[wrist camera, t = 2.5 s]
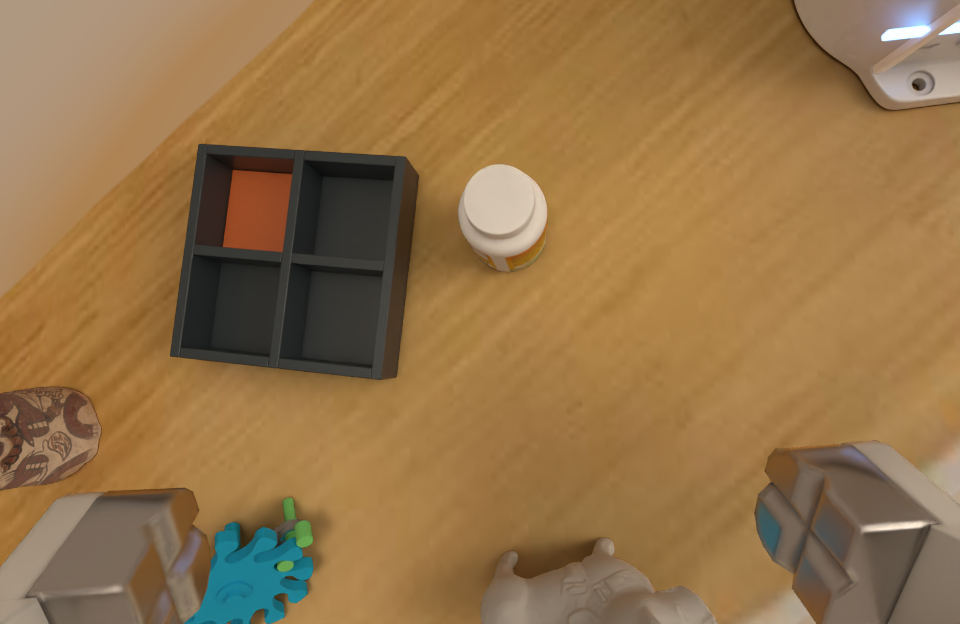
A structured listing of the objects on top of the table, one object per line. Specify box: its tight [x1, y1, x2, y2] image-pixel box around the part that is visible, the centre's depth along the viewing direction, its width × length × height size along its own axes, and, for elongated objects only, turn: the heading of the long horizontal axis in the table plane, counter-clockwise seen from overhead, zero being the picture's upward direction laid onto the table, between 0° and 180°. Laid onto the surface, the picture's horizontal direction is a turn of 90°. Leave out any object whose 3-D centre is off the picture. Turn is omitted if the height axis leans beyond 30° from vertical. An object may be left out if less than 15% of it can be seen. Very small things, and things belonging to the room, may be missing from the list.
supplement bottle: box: [458, 164, 547, 272], centre depth 36 cm, size 5×5×10 cm
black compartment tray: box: [170, 144, 419, 380], centre depth 40 cm, size 15×15×4 cm
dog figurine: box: [481, 538, 717, 624], centre depth 33 cm, size 5×13×11 cm, turn 101°
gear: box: [184, 498, 313, 624], centre depth 38 cm, size 11×6×10 cm
